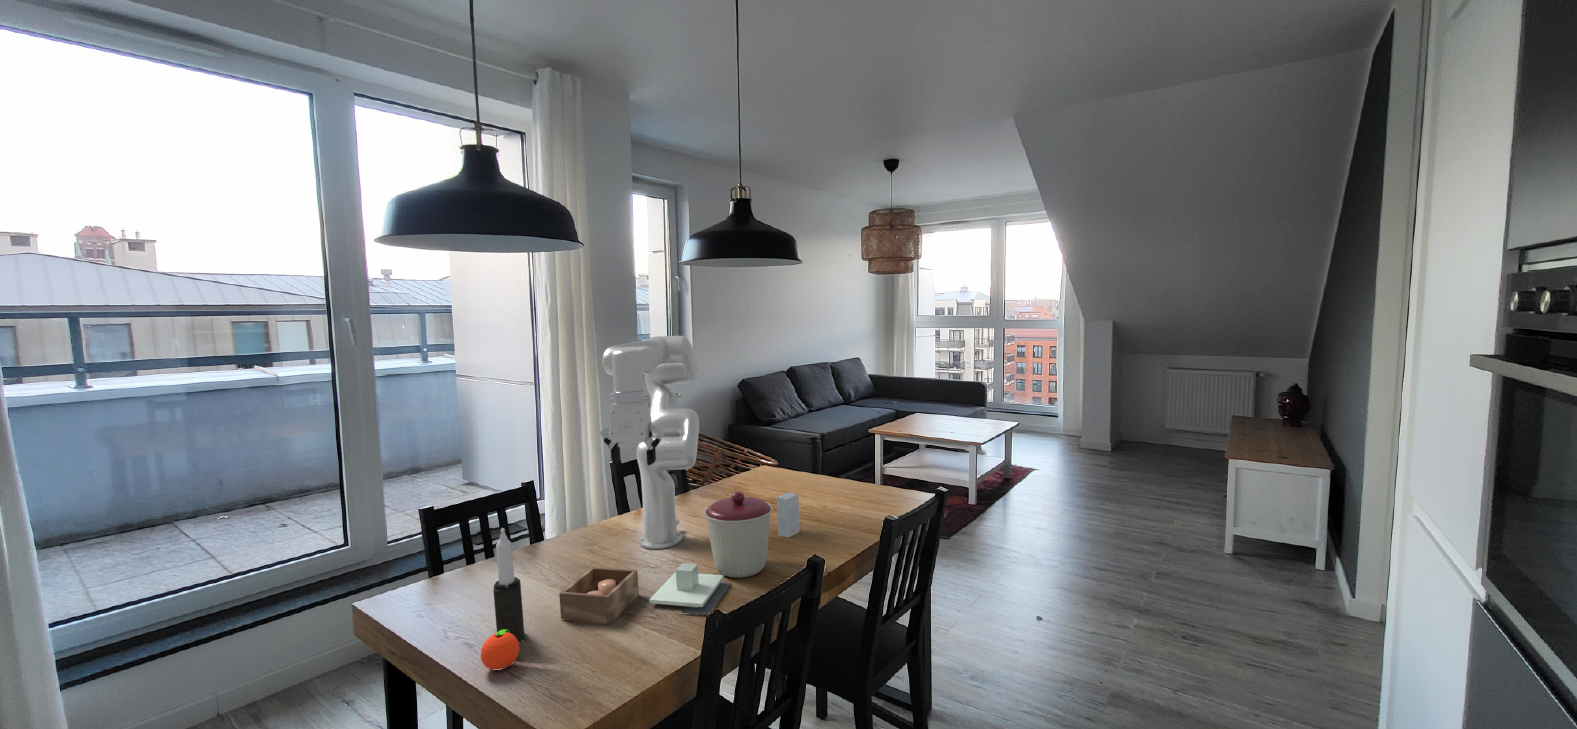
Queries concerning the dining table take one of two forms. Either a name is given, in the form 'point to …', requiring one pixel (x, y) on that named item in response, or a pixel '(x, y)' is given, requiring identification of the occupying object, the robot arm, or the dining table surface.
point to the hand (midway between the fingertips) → (633, 463)
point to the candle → (508, 592)
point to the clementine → (500, 650)
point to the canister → (739, 534)
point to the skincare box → (788, 514)
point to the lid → (687, 587)
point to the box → (598, 596)
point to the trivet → (710, 601)
